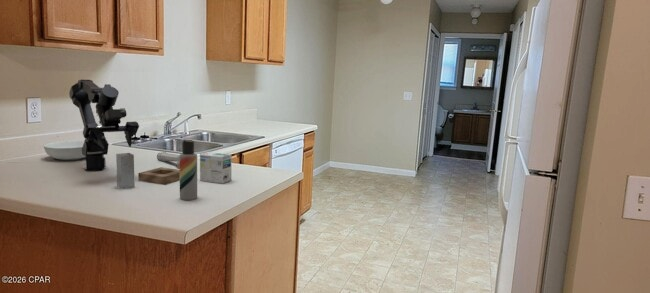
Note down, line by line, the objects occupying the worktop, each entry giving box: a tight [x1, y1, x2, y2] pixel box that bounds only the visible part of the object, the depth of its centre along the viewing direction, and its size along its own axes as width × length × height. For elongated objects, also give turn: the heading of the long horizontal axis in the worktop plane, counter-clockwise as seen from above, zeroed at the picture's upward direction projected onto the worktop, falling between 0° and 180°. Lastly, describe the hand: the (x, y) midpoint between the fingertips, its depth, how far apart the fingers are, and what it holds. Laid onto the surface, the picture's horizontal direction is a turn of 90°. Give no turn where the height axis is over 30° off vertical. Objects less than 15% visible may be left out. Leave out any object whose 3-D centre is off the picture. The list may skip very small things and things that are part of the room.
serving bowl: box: [43, 140, 89, 161], centre depth 203 cm, size 21×21×7 cm
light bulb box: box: [199, 151, 232, 184], centre depth 173 cm, size 11×7×11 cm, turn 71°
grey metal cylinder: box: [156, 151, 180, 169], centre depth 200 cm, size 5×7×25 cm
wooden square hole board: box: [137, 166, 180, 186], centre depth 172 cm, size 12×12×3 cm
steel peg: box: [115, 152, 135, 190], centre depth 159 cm, size 4×4×12 cm
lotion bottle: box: [178, 139, 198, 201], centre depth 147 cm, size 6×6×20 cm
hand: (117, 147), depth 163 cm, fingers open, 9 cm apart
